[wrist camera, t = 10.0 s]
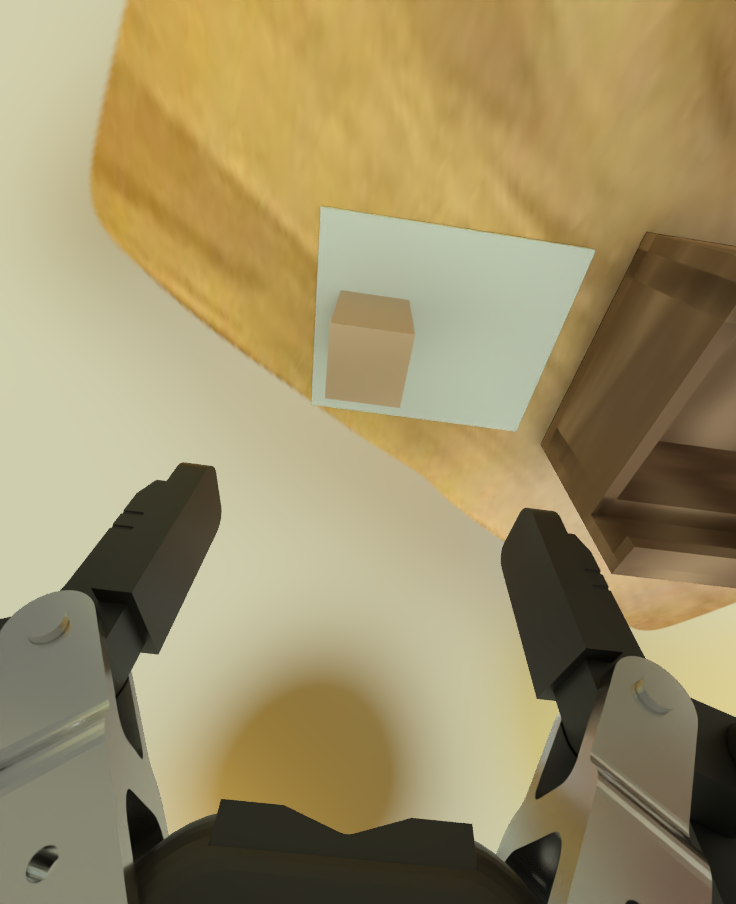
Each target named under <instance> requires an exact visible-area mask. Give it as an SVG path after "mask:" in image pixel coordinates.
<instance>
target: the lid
mask: <svg viewBox="0 0 736 904" xmlns="http://www.w3.org/2000/svg"><path fill="white" fill-rule="evenodd" d="M595 251H596V250H595V249H592V248H587V247H581V246H574V245H568V244H562V243H555V242H549V241H543V240H536V239H530V238H524V237H517V236H511V235H505V234H498V233H492V232H486V231H479V230H473V229H467V228H460V227H454V226H448V225H441V224H435V223H429V222H422V221H416V220H410V219H403V218H397V217H391V216H384V215H378V214H372V213H365V212H359V211H353V210H346V209H340V208H334V207H327V206H321V210H320V231H319V252H318V273H317V294H316V315H315V336H314V357H313V378H312V399H311V405H317V406H325V407H333V408H340V409H348V410H355V411H363V412H371V413H378V414H386V415H394V416H401V417H409V418H416V419H424V420H432V421H439V422H447V423H455V424H462V425H470V426H477V427H485V428H493V429H500V430H508V431H515V432H516V431H517V429H518V426H519V424H520V422H521V419H522V417H523V415H524V413H525V410H526V408H527V406H528V404H529V401H530V399H531V397H532V395H533V392H534V390H535V388H536V385H537V383H538V381H539V379H540V376H541V374H542V372H543V370H544V367H545V365H546V363H547V360H548V358H549V356H550V354H551V351H552V349H553V347H554V345H555V342H556V340H557V338H558V335H559V333H560V331H561V329H562V326H563V324H564V322H565V320H566V317H567V315H568V313H569V311H570V308H571V306H572V304H573V301H574V299H575V297H576V295H577V292H578V290H579V288H580V286H581V283H582V281H583V279H584V276H585V274H586V272H587V270H588V267H589V265H590V263H591V261H592V258H593V256H594V254H595Z"/></svg>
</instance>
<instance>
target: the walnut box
mask: <svg viewBox="0 0 736 904" xmlns="http://www.w3.org/2000/svg"><path fill="white" fill-rule="evenodd" d="M541 446H542V448H543V450H544V451H545V453H546V455H547V457H548V459H549V461H550V462H551V464H552V466H553V468H554V470H555V472H556V473H557V475H558V477H559V479H560V481H561V482H562V484H563V486H564V488H565V490H566V492H567V493H568V495H569V497H570V499H571V501H572V503H573V504H574V506H575V508H576V510H577V512H578V513H579V515H580V517H581V519H582V521H583V523H584V524H585V526H586V528H587V530H588V532H589V534H590V535H591V537H592V539H593V541H594V543H595V544H596V546H597V548H598V550H599V552H600V554H601V555H602V557H603V559H604V561H605V563H606V565H607V566H608V568H609V570H610V572H611V574H617V575H626V576H635V577H643V578H652V579H661V580H669V581H678V582H687V583H695V584H704V585H713V586H721V587H730V588H736V246H731V245H724V244H718V243H712V242H706V241H699V240H693V239H687V238H681V237H674V236H668V235H662V234H656V233H649V232H647V233H646V235H645V237H644V239H643V241H642V243H641V245H640V247H639V249H638V251H637V253H636V255H635V257H634V259H633V261H632V263H631V265H630V267H629V269H628V271H627V273H626V275H625V277H624V279H623V281H622V283H621V285H620V287H619V289H618V291H617V293H616V295H615V297H614V299H613V301H612V303H611V305H610V307H609V309H608V311H607V313H606V315H605V317H604V319H603V321H602V323H601V325H600V327H599V329H598V331H597V333H596V335H595V337H594V339H593V341H592V343H591V345H590V347H589V349H588V351H587V353H586V355H585V357H584V359H583V361H582V363H581V365H580V367H579V369H578V371H577V373H576V375H575V377H574V379H573V381H572V383H571V385H570V387H569V389H568V391H567V393H566V395H565V397H564V399H563V401H562V403H561V405H560V407H559V409H558V411H557V413H556V415H555V417H554V419H553V421H552V423H551V425H550V427H549V429H548V431H547V433H546V435H545V437H544V439H543V441H542V443H541Z"/></svg>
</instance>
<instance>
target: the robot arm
mask: <svg viewBox="0 0 736 904" xmlns="http://www.w3.org/2000/svg"><path fill="white" fill-rule="evenodd" d="M220 520H221V503H220V496H219V490H218V483H217V476H216V470H215V468H214V467H213V466H207V465H199V464H191V463H180V464H179V465H178V466H177V468H176V469H175V470H174V472H173V473H172V474H171V476H170V477H169V479H168V480H167V481H161V480H156V481H154V482H153V483H151V484H150V485H148V486H147V487H146V488H144V489H142V490H141V491H139V492H138V493H137V494H136V495H135V496H134V498H133V499H132V500H131V501H130V503H129V504H128V505H127V507H126V508H125V509H124V513H123V514H120V516H119V517H118V518H117V519H116V521H115V522H114V523H113V527H112V528H110V529H109V530H108V531H107V532H106V534H105V535H104V536H103V537H102V539H101V540H100V541H99V543H98V544H97V545H96V546H95V548H94V549H93V551H92V552H91V553H90V554H89V555H88V557H87V558H86V559H85V561H84V562H83V563H82V565H81V566H80V567H79V568H78V570H77V571H76V572H75V573H74V575H73V576H72V577H71V579H70V580H69V581H68V582H67V584H66V585H65V586H64V587H63V588H62V589H61V590H60V591H58V592H53V593H50V594H46V595H44V596H42V597H39V598H37V599H35V600H34V601H32V602H30V603H28V604H27V605H25V606H24V607H22V608H21V609H20V610H18V611H17V612H16V613H15V614H14V615H13V616H12V617H8V618H4V619H0V904H736V717H733V716H731V715H729V714H727V713H724V712H722V711H720V710H717V709H715V708H713V707H710V706H708V705H706V704H704V703H701V702H699V701H696V700H694V699H692V698H690V697H689V695H688V694H687V692H686V691H685V689H684V688H683V687H682V686H681V684H680V683H679V682H678V681H677V680H676V679H675V678H674V677H673V676H672V675H671V674H670V673H669V672H667V671H666V670H665V669H663V668H662V667H660V666H659V665H657V664H656V663H654V662H652V661H650V660H648V659H646V658H645V656H644V655H643V653H642V651H641V649H640V647H639V646H638V643H637V641H636V639H635V638H634V636H633V634H632V632H631V630H630V628H629V626H628V624H627V622H626V620H625V618H624V616H623V614H622V612H621V610H620V608H619V606H618V604H617V602H616V600H615V598H614V596H613V594H612V592H611V591H609V590H608V585H607V583H606V581H605V579H604V577H603V575H601V574H600V569H599V567H598V565H597V563H596V561H595V559H594V557H593V555H592V553H591V551H590V550H589V549H588V548H587V547H586V546H585V545H584V544H583V543H582V542H581V541H580V540H579V539H578V538H577V536H576V535H575V534H568V533H567V531H566V529H565V527H564V524H563V522H562V520H561V518H560V516H559V515H558V514H557V513H556V512H554V511H547V510H539V509H531V508H524V509H523V510H522V511H521V512H520V514H519V516H518V518H517V520H516V522H515V523H514V525H513V527H512V529H511V531H510V533H509V535H508V537H507V539H506V541H505V543H504V545H503V547H502V553H501V566H502V570H503V574H504V578H505V582H506V585H507V589H508V593H509V597H510V600H511V604H512V608H513V611H514V615H515V619H516V622H517V626H518V630H519V634H520V637H521V641H522V645H523V649H524V652H525V656H526V660H527V664H528V667H529V671H530V675H531V678H532V682H533V686H534V689H535V693H536V697H537V699H544V700H553V701H556V702H557V705H558V709H559V712H560V714H559V715H558V716H557V717H556V719H555V721H554V724H553V726H552V729H551V732H550V734H549V737H548V739H547V742H546V745H545V747H544V750H543V753H542V755H541V758H540V761H539V763H538V766H537V769H536V771H535V774H534V777H533V780H532V782H531V785H530V787H529V790H528V793H527V795H526V798H525V800H524V802H523V803H522V805H521V807H520V808H519V810H518V811H517V813H516V814H515V815H514V817H513V818H512V820H511V822H510V824H509V825H508V828H507V830H506V831H505V834H504V836H503V838H502V841H501V843H500V846H499V848H498V851H497V853H496V854H494V853H493V852H492V851H490V850H489V849H487V848H486V847H484V846H483V845H481V844H480V843H478V842H476V841H474V836H473V827H472V824H466V823H456V822H446V821H436V820H426V819H416V818H410V819H406V820H403V821H399V822H395V823H392V824H388V825H384V826H381V827H377V828H373V829H370V830H366V831H362V832H359V833H355V834H350V835H348V834H343V833H340V832H337V831H336V830H333V829H331V828H329V827H327V826H325V825H323V824H321V823H319V822H317V821H315V820H313V819H311V818H309V817H307V816H305V815H303V814H300V813H299V812H296V811H295V810H292V809H291V808H288V807H286V806H284V805H276V804H266V803H256V802H246V801H236V800H225V799H221V802H220V806H219V809H218V813H217V814H213V815H210V816H206V817H204V818H201V819H199V820H197V821H194V822H192V823H189V824H188V825H186V826H184V827H183V828H181V829H179V830H178V831H175V832H174V833H172V834H171V835H169V834H168V830H167V825H166V820H165V815H164V810H163V805H162V801H161V797H160V793H159V789H158V786H157V782H156V780H155V777H154V774H153V771H152V768H151V765H150V761H149V757H148V752H147V747H146V743H145V738H144V732H143V727H142V722H141V717H140V712H139V707H138V702H137V697H136V692H135V687H134V682H133V676H132V673H131V670H132V668H133V666H134V664H135V662H136V660H137V658H138V656H139V654H140V652H141V653H150V654H159V652H160V650H161V648H162V646H163V643H164V641H165V639H166V637H167V635H168V633H169V631H170V629H171V627H172V625H173V623H174V620H175V618H176V616H177V614H178V612H179V610H180V608H181V606H182V604H183V602H184V600H185V597H186V596H187V593H188V591H189V589H190V587H191V585H192V583H193V581H194V579H195V576H196V575H197V573H198V570H199V568H200V566H201V564H202V562H203V560H204V558H205V556H206V554H207V552H208V549H209V547H210V545H211V543H212V541H213V539H214V537H215V535H216V533H217V530H218V528H219V524H220Z"/></svg>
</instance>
